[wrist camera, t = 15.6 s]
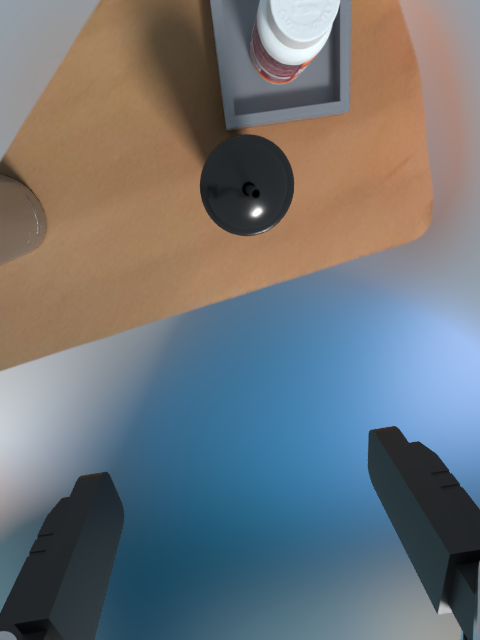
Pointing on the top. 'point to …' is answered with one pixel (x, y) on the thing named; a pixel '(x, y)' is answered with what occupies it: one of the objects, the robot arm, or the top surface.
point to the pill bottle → (289, 36)
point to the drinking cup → (247, 185)
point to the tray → (273, 99)
